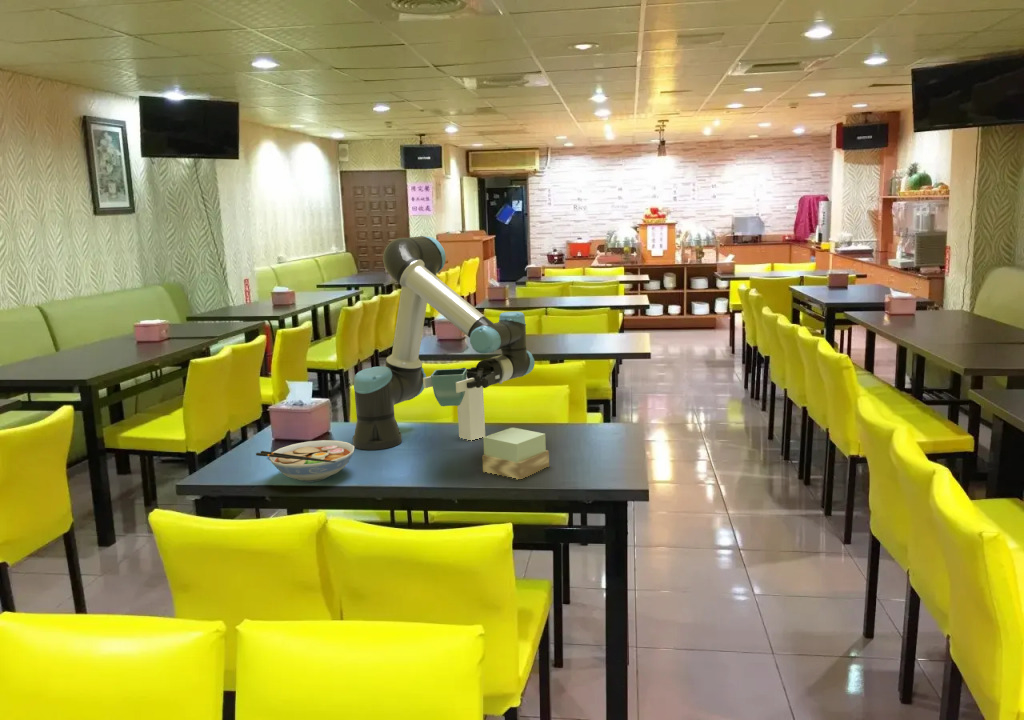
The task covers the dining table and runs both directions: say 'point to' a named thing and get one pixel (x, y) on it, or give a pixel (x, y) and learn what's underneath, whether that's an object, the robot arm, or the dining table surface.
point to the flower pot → (448, 386)
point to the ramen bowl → (311, 459)
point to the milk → (472, 415)
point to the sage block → (514, 444)
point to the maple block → (516, 465)
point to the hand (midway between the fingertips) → (440, 385)
